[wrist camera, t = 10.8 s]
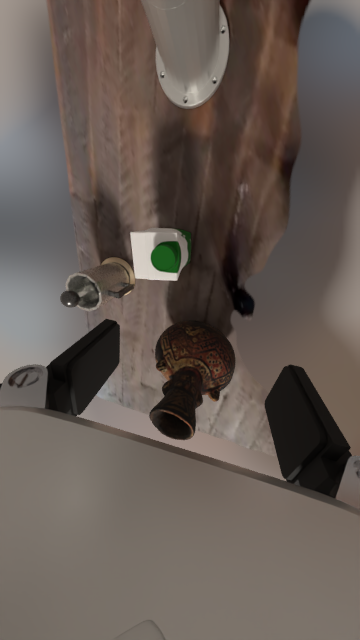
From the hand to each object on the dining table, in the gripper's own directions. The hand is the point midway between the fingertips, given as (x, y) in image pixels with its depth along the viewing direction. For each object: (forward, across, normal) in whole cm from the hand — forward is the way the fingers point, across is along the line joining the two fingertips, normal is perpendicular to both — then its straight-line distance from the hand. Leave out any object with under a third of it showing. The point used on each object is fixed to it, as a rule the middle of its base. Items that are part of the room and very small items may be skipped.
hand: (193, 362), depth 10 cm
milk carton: (+40, +10, -1) cm, 42 cm away
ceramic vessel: (+40, -1, +23) cm, 47 cm away
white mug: (+40, +25, +10) cm, 48 cm away
